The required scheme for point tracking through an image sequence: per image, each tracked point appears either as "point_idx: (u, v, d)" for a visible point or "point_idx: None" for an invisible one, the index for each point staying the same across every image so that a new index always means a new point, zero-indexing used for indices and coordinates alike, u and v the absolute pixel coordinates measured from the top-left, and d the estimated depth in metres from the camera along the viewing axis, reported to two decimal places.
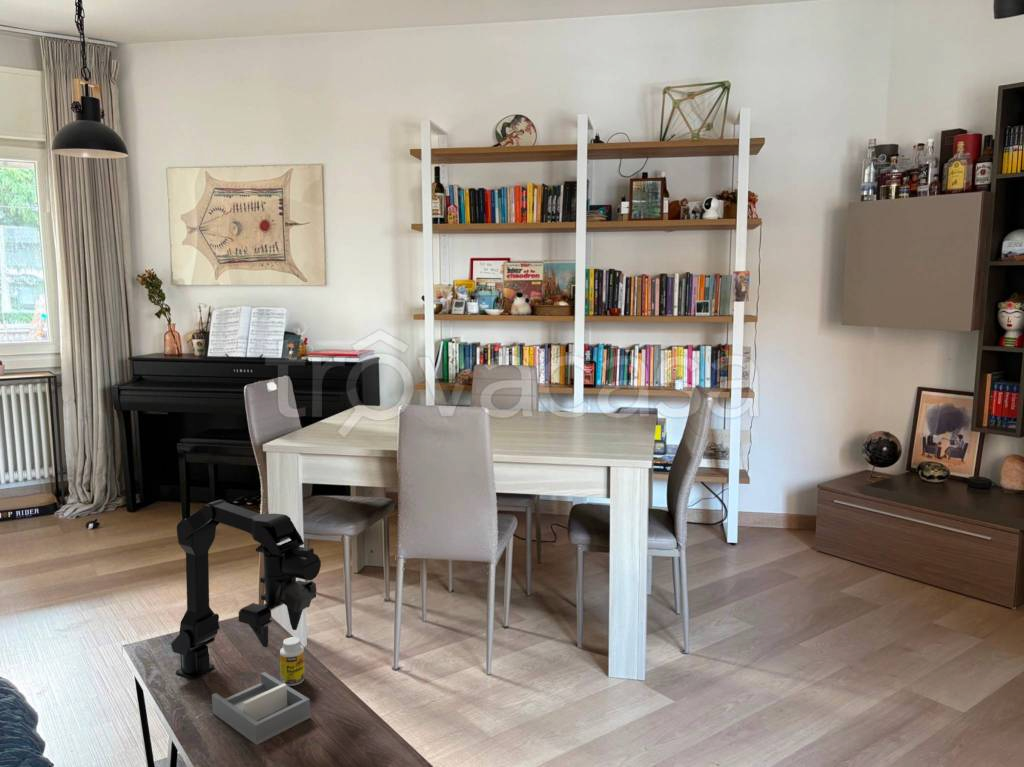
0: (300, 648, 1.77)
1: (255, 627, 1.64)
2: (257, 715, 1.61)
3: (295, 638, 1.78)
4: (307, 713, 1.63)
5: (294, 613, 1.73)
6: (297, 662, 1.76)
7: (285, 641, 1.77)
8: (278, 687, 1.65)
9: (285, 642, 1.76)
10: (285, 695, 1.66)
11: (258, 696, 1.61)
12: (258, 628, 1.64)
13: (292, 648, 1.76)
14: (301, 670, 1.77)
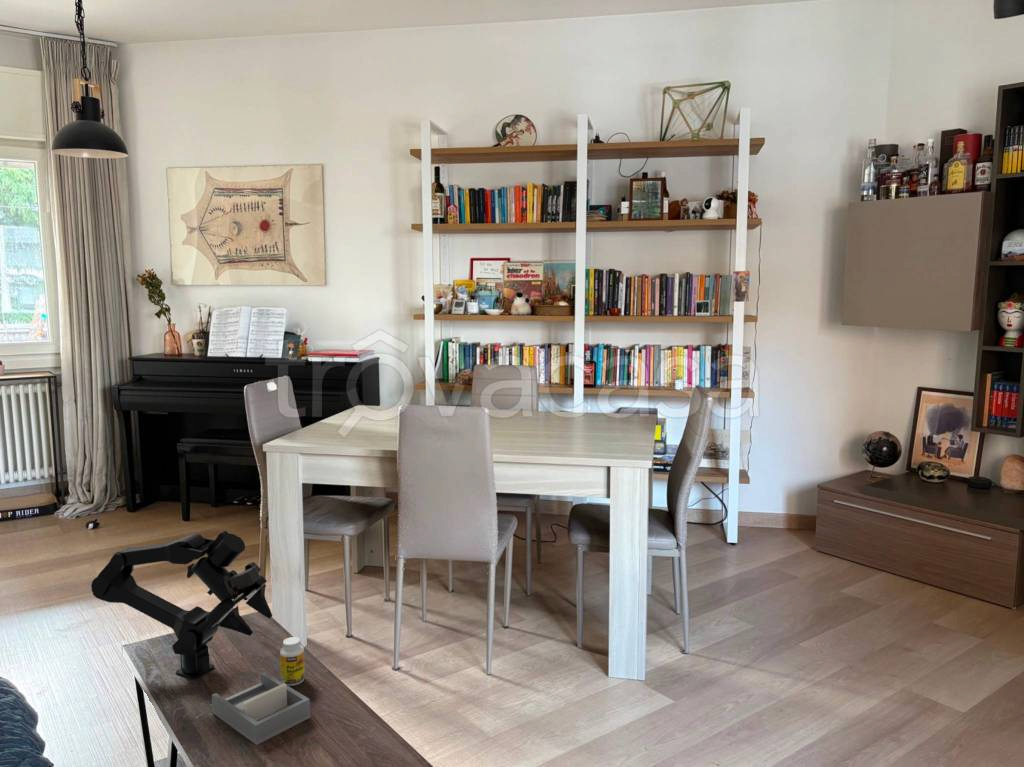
0: (300, 648, 1.77)
1: (230, 624, 1.73)
2: (257, 715, 1.61)
3: (295, 638, 1.78)
4: (307, 713, 1.63)
5: (260, 605, 1.83)
6: (297, 662, 1.76)
7: (285, 641, 1.77)
8: (278, 687, 1.65)
9: (285, 642, 1.76)
10: (285, 695, 1.66)
11: (258, 696, 1.61)
12: (233, 623, 1.73)
13: (292, 648, 1.76)
14: (301, 670, 1.77)
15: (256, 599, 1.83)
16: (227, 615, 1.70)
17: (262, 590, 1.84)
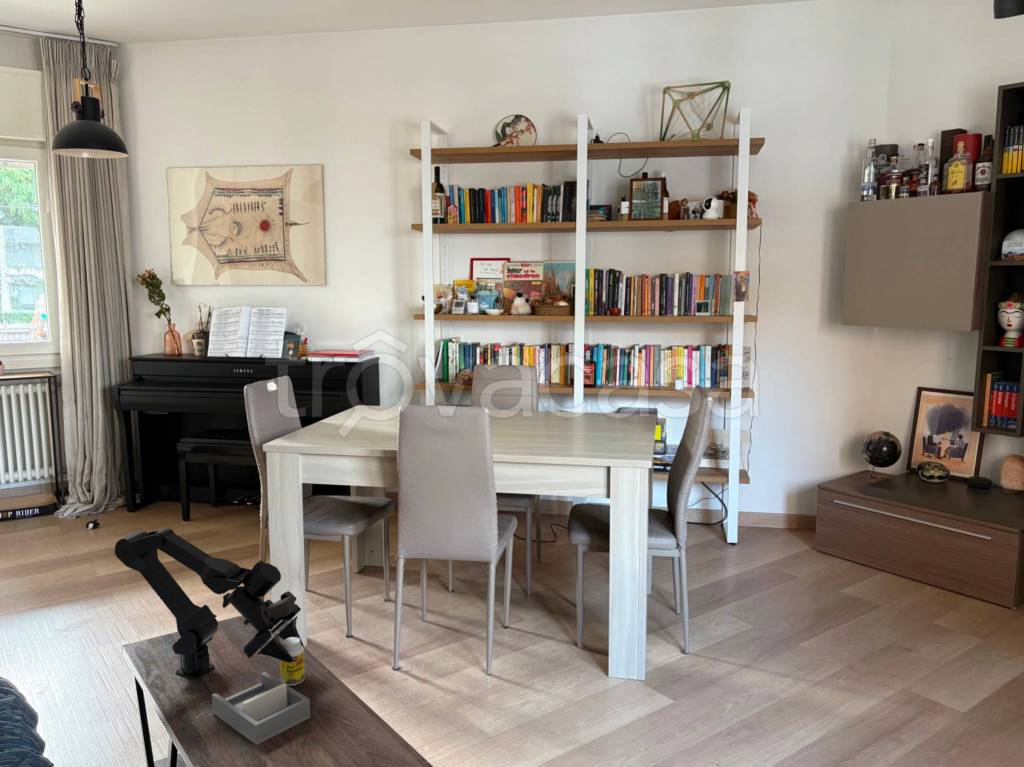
0: (300, 648, 1.77)
1: (271, 652, 1.74)
2: (257, 715, 1.61)
3: (295, 638, 1.78)
4: (307, 713, 1.63)
5: None
6: (297, 662, 1.76)
7: (285, 641, 1.77)
8: (278, 687, 1.65)
9: (285, 642, 1.76)
10: (285, 695, 1.66)
11: (258, 696, 1.61)
12: (274, 650, 1.74)
13: (292, 648, 1.76)
14: (301, 670, 1.77)
15: (288, 631, 1.81)
16: (268, 643, 1.71)
17: (294, 622, 1.81)
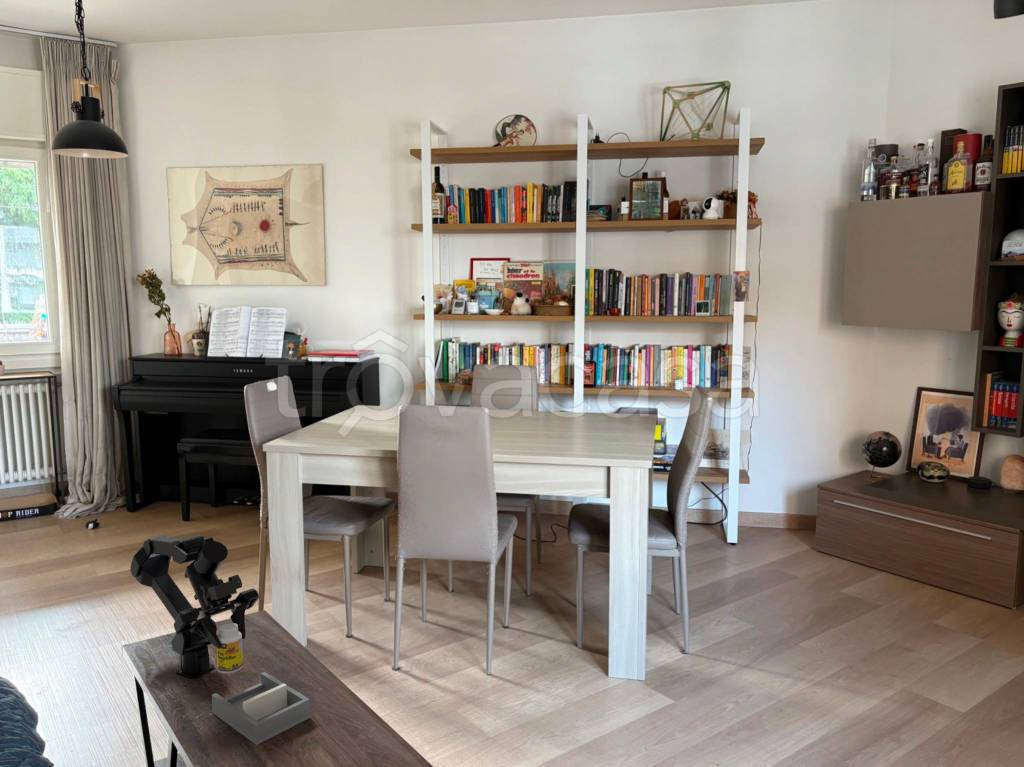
0: (234, 636, 1.69)
1: (203, 633, 1.69)
2: (257, 715, 1.61)
3: (234, 625, 1.71)
4: (307, 713, 1.63)
5: (238, 622, 1.73)
6: (227, 650, 1.68)
7: (223, 625, 1.70)
8: (278, 687, 1.65)
9: (221, 626, 1.70)
10: (285, 695, 1.66)
11: (258, 696, 1.61)
12: (206, 632, 1.69)
13: (224, 634, 1.68)
14: (233, 660, 1.69)
15: (236, 616, 1.74)
16: (195, 623, 1.67)
17: (241, 608, 1.74)
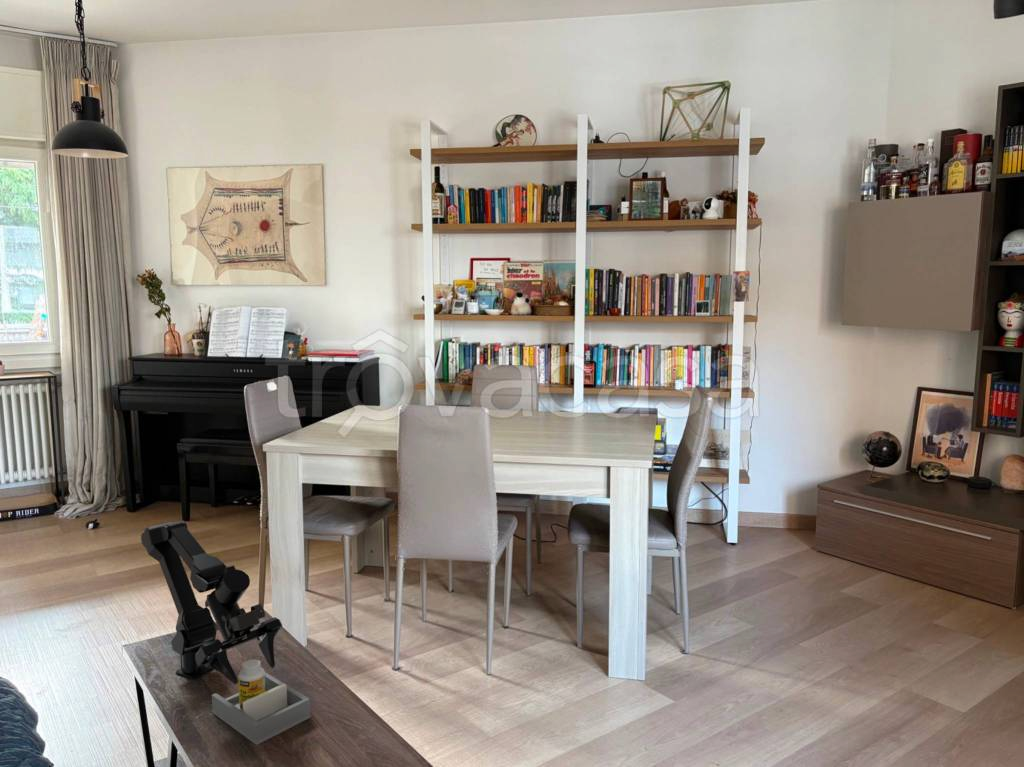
0: (257, 674, 1.64)
1: (219, 667, 1.62)
2: (257, 715, 1.61)
3: (256, 662, 1.65)
4: (307, 713, 1.63)
5: (266, 651, 1.69)
6: (250, 689, 1.63)
7: (245, 662, 1.65)
8: (278, 687, 1.65)
9: (244, 663, 1.65)
10: (285, 695, 1.66)
11: (258, 696, 1.61)
12: (222, 667, 1.62)
13: (246, 672, 1.63)
14: None
15: (264, 644, 1.70)
16: (211, 658, 1.60)
17: (270, 635, 1.69)
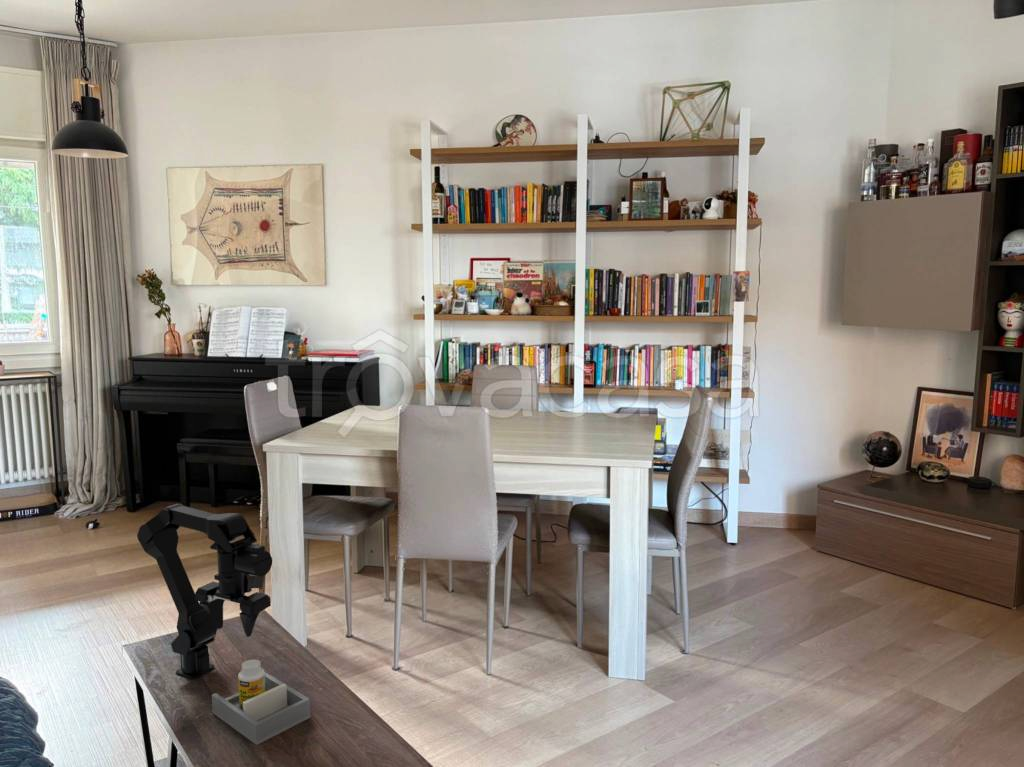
0: (257, 674, 1.64)
1: (248, 619, 1.71)
2: (257, 715, 1.61)
3: (256, 662, 1.65)
4: (307, 713, 1.63)
5: (219, 612, 1.77)
6: (250, 689, 1.63)
7: (245, 662, 1.65)
8: (278, 687, 1.65)
9: (244, 664, 1.65)
10: (285, 695, 1.66)
11: (258, 696, 1.61)
12: (249, 619, 1.72)
13: (246, 672, 1.63)
14: None
15: (218, 605, 1.77)
16: None
17: None
